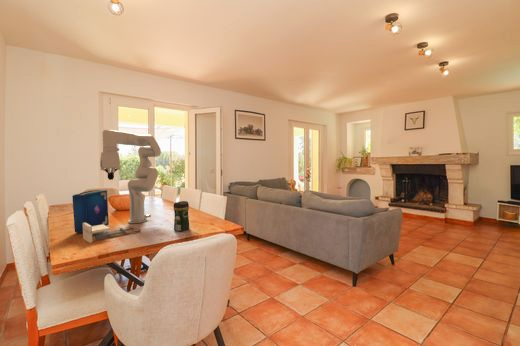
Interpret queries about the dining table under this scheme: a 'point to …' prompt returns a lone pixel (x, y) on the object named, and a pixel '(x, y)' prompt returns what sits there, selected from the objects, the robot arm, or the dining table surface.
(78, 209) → the book
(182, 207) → the coffee jar
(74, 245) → the dining table surface
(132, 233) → the guide rails
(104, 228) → the shelf
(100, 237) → the slate gray sliding drawer
